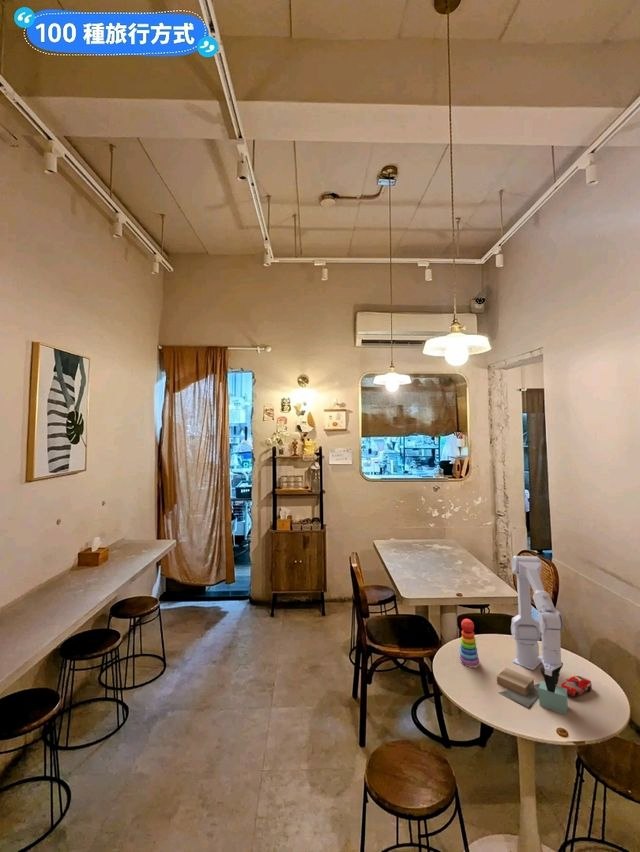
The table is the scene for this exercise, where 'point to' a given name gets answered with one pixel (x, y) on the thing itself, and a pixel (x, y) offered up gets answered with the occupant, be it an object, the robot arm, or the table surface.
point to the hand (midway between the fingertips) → (552, 687)
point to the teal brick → (553, 698)
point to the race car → (577, 685)
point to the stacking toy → (468, 644)
